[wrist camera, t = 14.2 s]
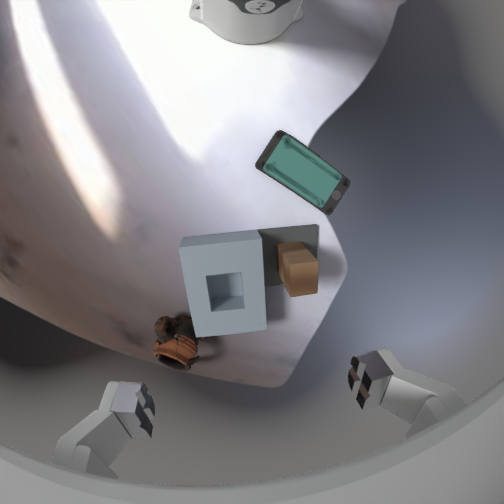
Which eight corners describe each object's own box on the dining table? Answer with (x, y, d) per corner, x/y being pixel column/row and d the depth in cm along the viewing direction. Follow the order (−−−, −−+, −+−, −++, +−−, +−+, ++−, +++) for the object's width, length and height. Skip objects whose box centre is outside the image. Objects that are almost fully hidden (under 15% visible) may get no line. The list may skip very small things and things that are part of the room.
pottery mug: (216, 338, 51) (203, 375, 45) (178, 336, 55) (165, 370, 49) (184, 300, 44) (165, 342, 38) (145, 301, 48) (126, 337, 42)
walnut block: (276, 243, 45) (290, 264, 36) (299, 241, 45) (318, 261, 37) (277, 271, 46) (290, 297, 38) (300, 268, 47) (317, 293, 38)
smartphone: (329, 216, 44) (254, 166, 40) (327, 215, 45) (253, 166, 41) (352, 180, 42) (280, 127, 38) (349, 180, 44) (278, 128, 39)
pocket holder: (182, 237, 43) (178, 247, 38) (256, 229, 44) (261, 238, 39) (197, 321, 48) (196, 337, 44) (262, 314, 50) (266, 329, 45)
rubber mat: (256, 229, 44) (257, 230, 44) (315, 224, 45) (316, 225, 44) (260, 285, 48) (260, 286, 47) (314, 278, 48) (316, 279, 48)
